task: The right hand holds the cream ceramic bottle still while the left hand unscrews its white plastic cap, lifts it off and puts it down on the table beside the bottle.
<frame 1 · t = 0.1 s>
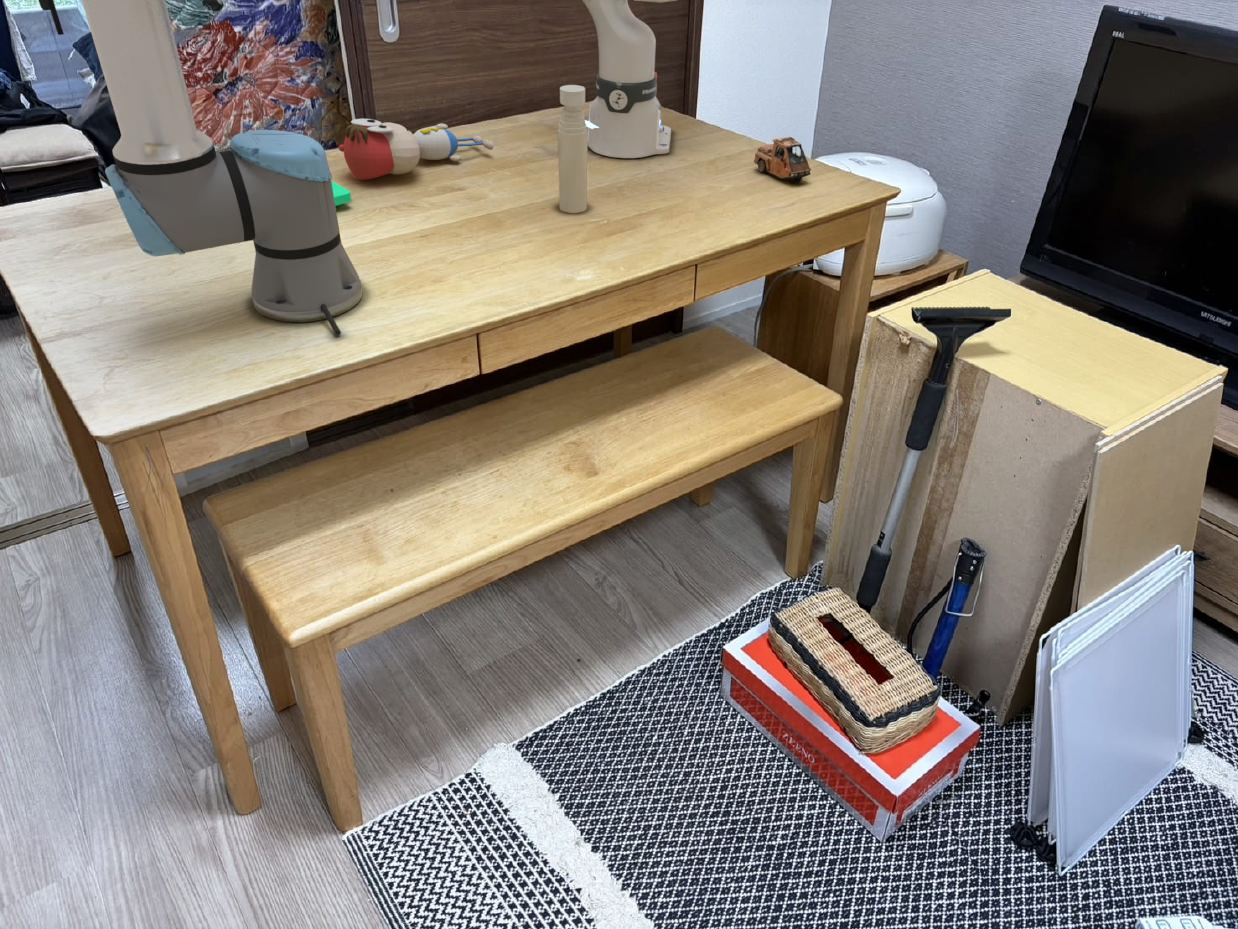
left hand: (108, 29, 146), 28 cm above the table, tool pointing down, fingers open, 13 cm apart
bottle: (573, 207, 165), on the table
toy car: (781, 175, 181), on the table
toy: (419, 166, 180), on the table
cap: (572, 90, 153), point 20 cm above the table, screwed on, not yet turned
camera mount: (318, 203, 164), on the table
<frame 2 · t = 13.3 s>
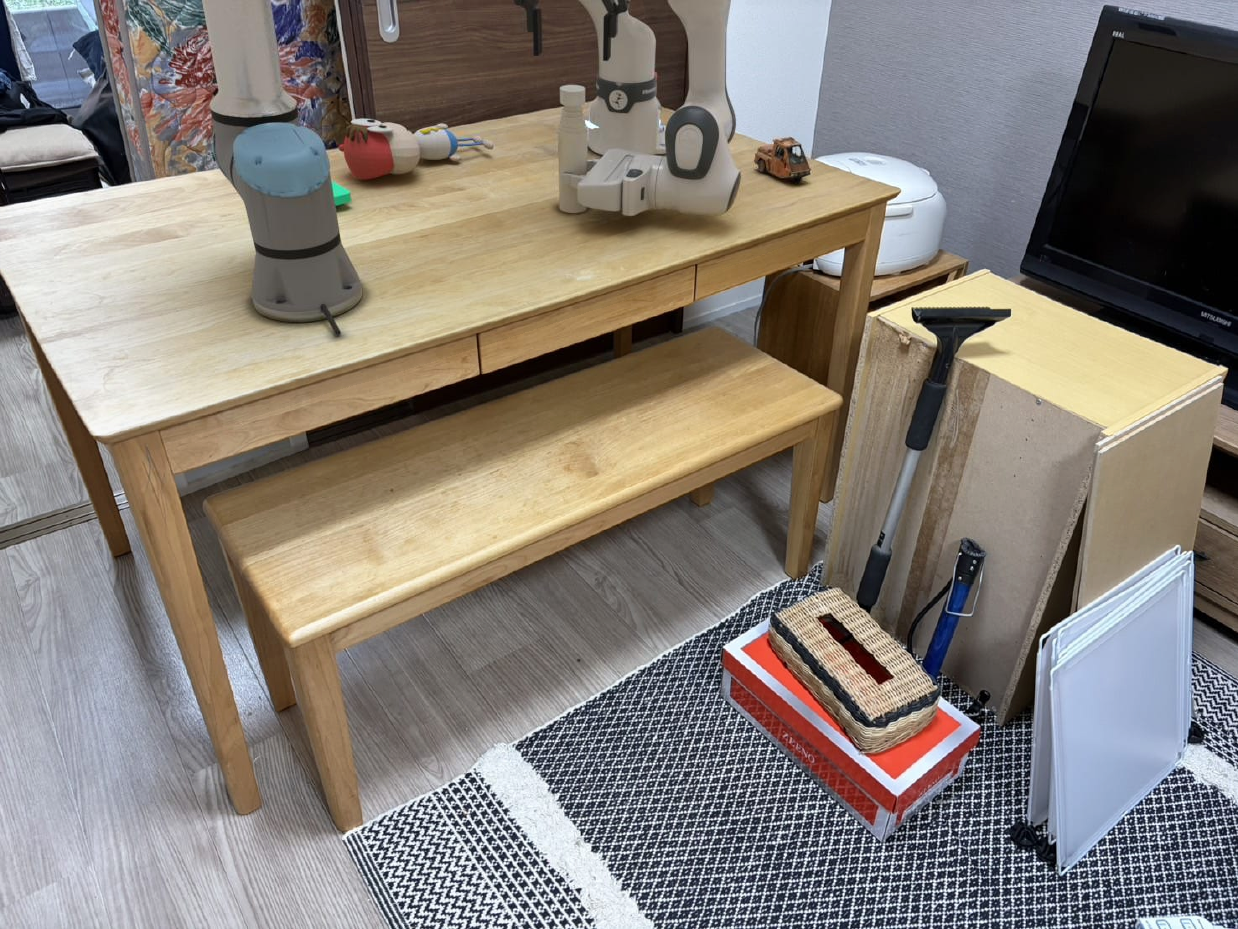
left hand: (572, 56, 150), 25 cm above the table, tool pointing down, fingers open, 11 cm apart
right hand: (568, 171, 162), 6 cm above the table, tool horizontal, fingers closed on bottle, 5 cm apart
bottle: (573, 207, 165), on the table, touching right hand
everything else where it was.
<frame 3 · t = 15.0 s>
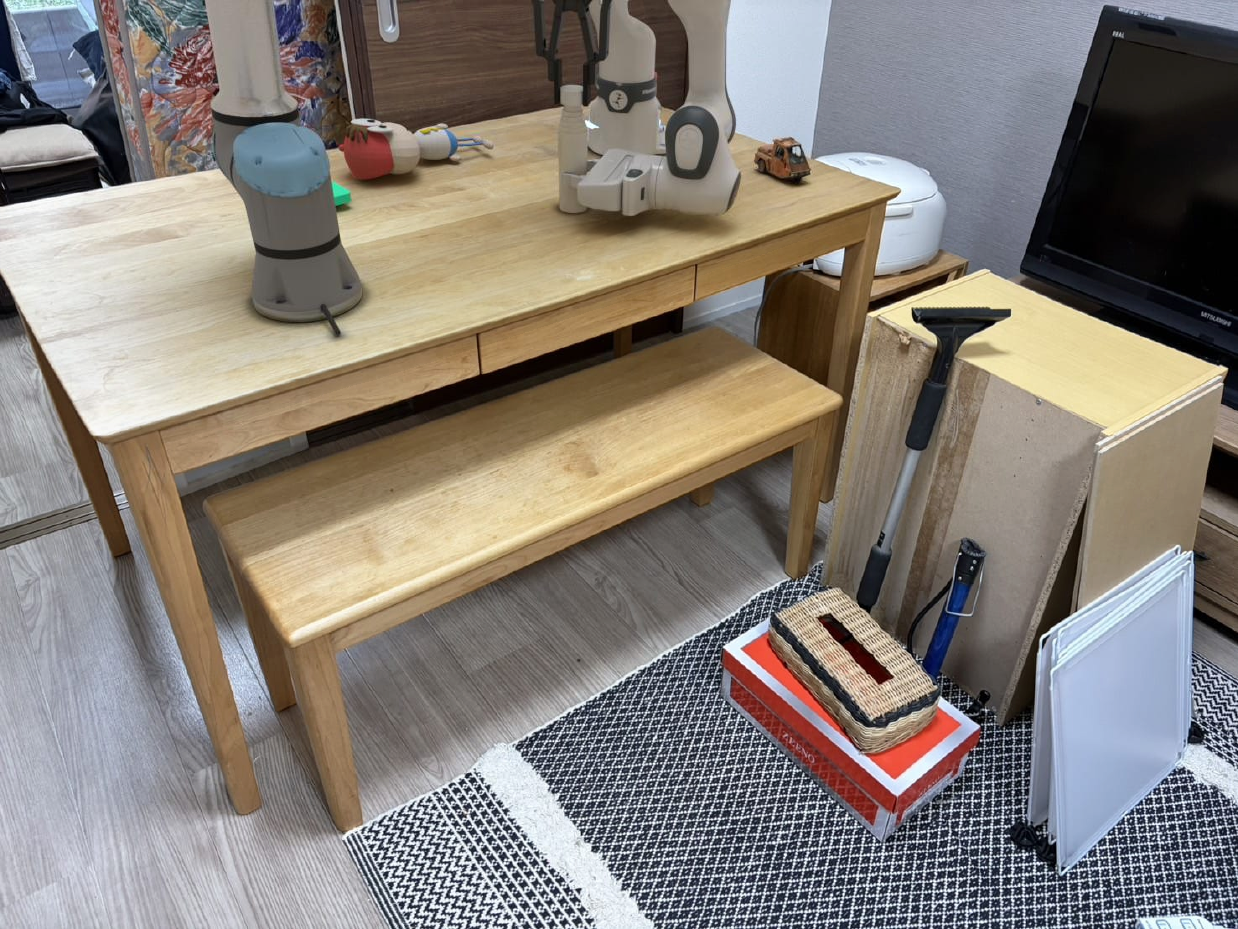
left hand: (572, 102, 154), 18 cm above the table, tool pointing down, fingers closed on cap, 4 cm apart
right hand: (568, 171, 162), 6 cm above the table, tool horizontal, fingers closed on bottle, 5 cm apart
bottle: (573, 207, 165), on the table, touching right hand
cap: (572, 90, 153), point 20 cm above the table, screwed on, not yet turned, touching left hand
everything else where it was.
when the left hand's fingers open (2 cm above the table, at t = 30.7 s): cap drops 2 cm, point 2 cm above the table.
when the right hand's fingers open (6 cm above the table, at t = 32.0 s): bottle stays where it is, on the table.
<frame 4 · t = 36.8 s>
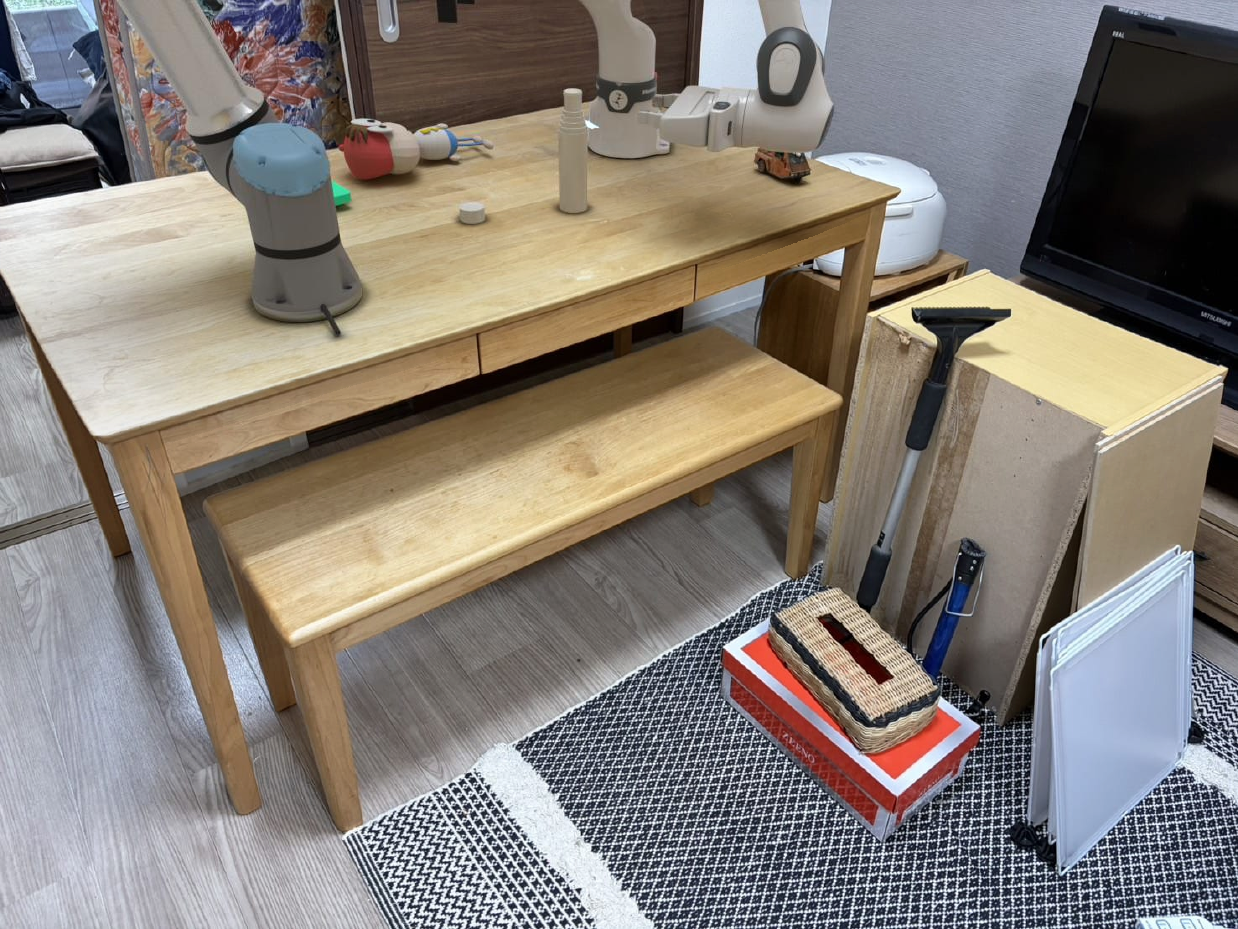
left hand: (457, 12, 140), 33 cm above the table, tool pointing down, fingers open, 13 cm apart
right hand: (645, 108, 152), 19 cm above the table, tool horizontal, fingers open, 8 cm apart
bottle: (573, 207, 165), on the table
cap: (471, 208, 159), point 2 cm above the table, off its thread
everything else where it was.
at the end: cap came off its thread; cap point 2.0 cm above the table; the left hand is holding nothing; the right hand is holding nothing; bottle tilted 0°; bottle moved 0.0 cm from its start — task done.
